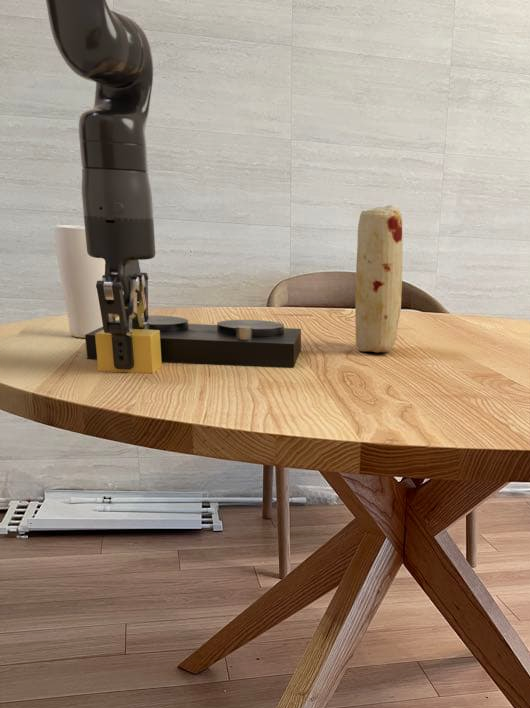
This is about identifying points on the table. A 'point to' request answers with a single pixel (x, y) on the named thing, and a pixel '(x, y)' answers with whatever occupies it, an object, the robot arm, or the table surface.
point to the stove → (220, 342)
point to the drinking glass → (79, 279)
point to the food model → (378, 278)
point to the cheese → (143, 351)
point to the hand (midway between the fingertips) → (130, 363)
